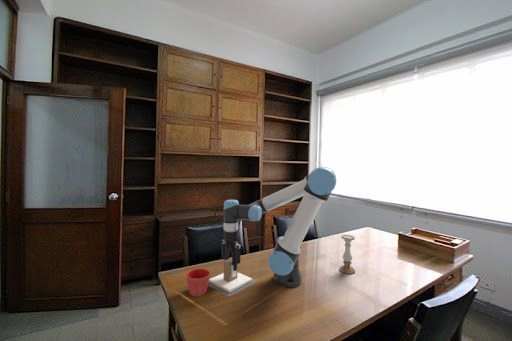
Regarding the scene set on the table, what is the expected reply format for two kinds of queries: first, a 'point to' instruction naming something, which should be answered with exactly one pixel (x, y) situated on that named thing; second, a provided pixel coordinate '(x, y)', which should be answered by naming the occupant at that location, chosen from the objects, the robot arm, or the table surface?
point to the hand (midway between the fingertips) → (230, 274)
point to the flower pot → (198, 281)
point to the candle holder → (347, 255)
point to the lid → (230, 278)
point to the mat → (232, 291)
